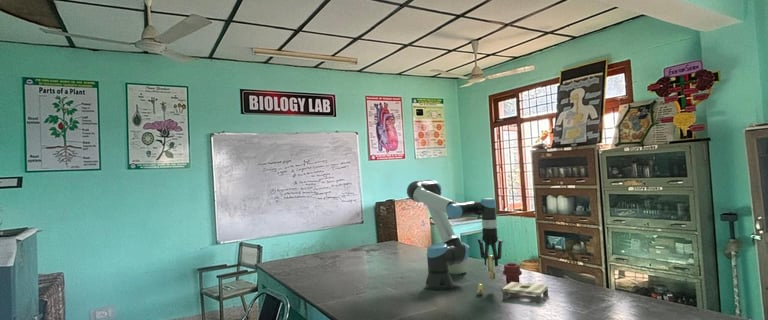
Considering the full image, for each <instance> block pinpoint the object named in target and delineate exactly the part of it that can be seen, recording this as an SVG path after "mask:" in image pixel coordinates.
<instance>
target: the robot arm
mask: <svg viewBox="0 0 768 320" xmlns="http://www.w3.org/2000/svg"><path fill="white" fill-rule="evenodd" d="M442 190H443V189H442V186H441V184H440V183H439V182H438V181H436V180H434V179H427V180H425V179H424V180H415V181H412V182H410V183H409V184H408V185H407V188H406V195H407V197H408V198H409V199H410V200H411V201H413V202H416V203H422V204H423V205H424V206H425V207H427V209H428V211H429V214H430V216H431V219H432V221H433V223H434V225H435V228H436V230H437V233H438V235H439V238H440V240H441V242H439V243H433V244H430V245H428V247H427V248H426V256H427V257H426V259H427V277H426V281H425V288H426V289H428V290H432V291H446V290H450V289H452V288H454V281H453V279H452V276H451V274H449V266H450V265H454V264H460V263H462V262H464V261H466V260H467V258H468V259H469V255H470V252H469V251H470V250H469V248H468V247H467V245H468V244H467V245H466V243H465V242H463V241H461V239H460V237H458V236H456V234H455V232H454V230H453V227H452V225H451V223H450V220H449V218H451V219H459V218H463V217H464V218H465V217H472V216H479V217H480V216H481V227H482V232H481V233H482V237H481V238H478V239H477V242H478V246H479V252H480V258H481V259H483V260H484V265H485V266H486V273H489V264H488V256H489V252H490V246H491V250H492V254H493V256H494V260H493V272H494V273H495V274H496V273H497V272H498V271H497V270H498V269H497V267H498V266H499V260H500V259H502V250H503V249H502V248H503V246H502V245H503V243H504V240H502V239H499V237H498V228H497V205H496V199H495V198H494V197H493V198H492V197H485V198H480V201H477V200H476V201H475V200H467V201H465V202H457V201H454V200H452V199H449V198H447V197H444V196H441V195H442ZM484 243H485V244H484ZM496 244H497V245H496Z"/></svg>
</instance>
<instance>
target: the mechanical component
mask: <svg viewBox="0 0 768 320" xmlns="http://www.w3.org/2000/svg"><path fill="white" fill-rule="evenodd" d="M502 274H503V276H505V284H507V285H508V284H509V283H511V282H519V283H521V281H520V276H521V275H522V274H523V271H522V270H521V265H520V264H518V263H516V262H508V263H506V264H503V270H502ZM507 285H506V286H507Z"/></svg>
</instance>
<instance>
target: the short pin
mask: <svg viewBox="0 0 768 320" xmlns="http://www.w3.org/2000/svg"><path fill="white" fill-rule="evenodd" d="M476 291H477V295H478V296H483V295H484V284H483V283H477V284H476Z"/></svg>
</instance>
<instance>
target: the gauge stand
mask: <svg viewBox="0 0 768 320" xmlns="http://www.w3.org/2000/svg"><path fill="white" fill-rule="evenodd" d="M501 291H502V299H503V300H508V299H509V293H511V294H512V293H513V294H520V295H530V296H535V303H536V304H542V297H548V296H549V287H548V285H546V284H540V283H539V284H537V283H526V282H520V283H519V282H511V283H509V284H508V285H505V286H504V287H503V288H502V290H501Z"/></svg>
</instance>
